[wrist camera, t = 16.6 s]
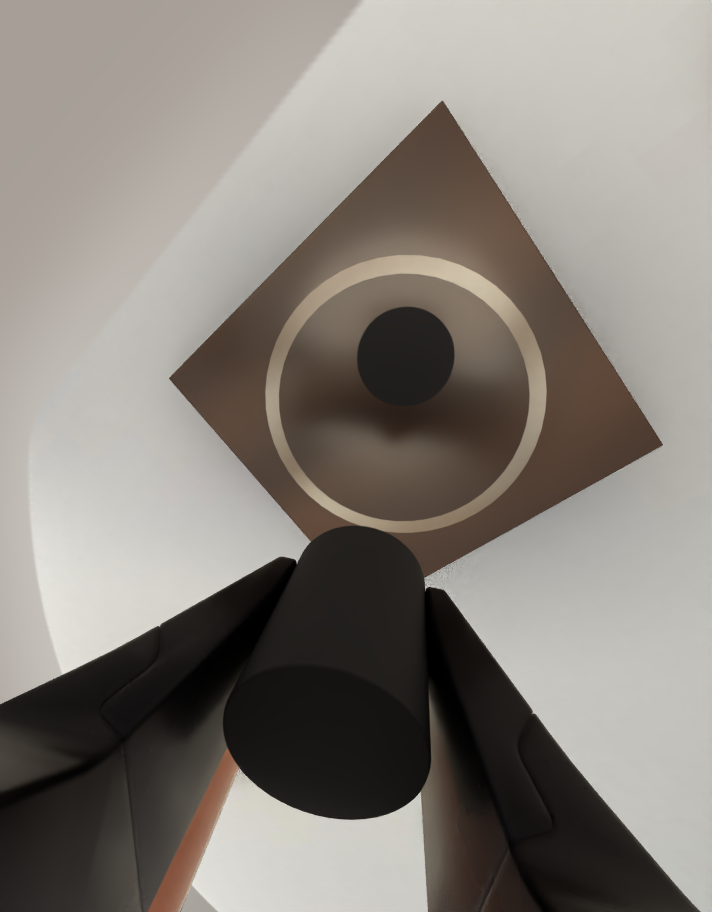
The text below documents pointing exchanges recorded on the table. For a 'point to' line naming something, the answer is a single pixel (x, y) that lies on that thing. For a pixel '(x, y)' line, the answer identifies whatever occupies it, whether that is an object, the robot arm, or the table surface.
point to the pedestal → (195, 840)
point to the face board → (461, 399)
